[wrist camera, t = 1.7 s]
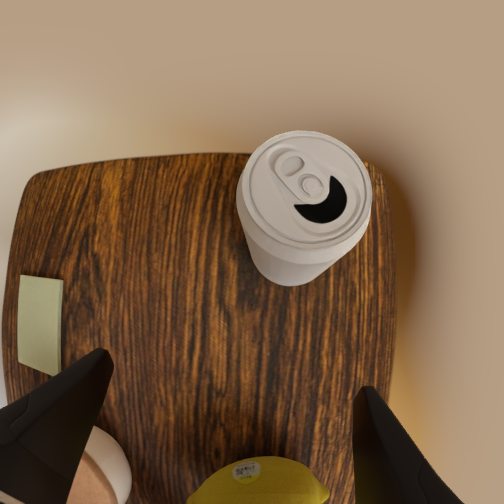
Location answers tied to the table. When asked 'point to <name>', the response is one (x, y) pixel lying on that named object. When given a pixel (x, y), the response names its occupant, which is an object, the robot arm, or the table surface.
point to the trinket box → (101, 472)
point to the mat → (40, 323)
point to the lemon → (261, 484)
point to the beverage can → (302, 205)
